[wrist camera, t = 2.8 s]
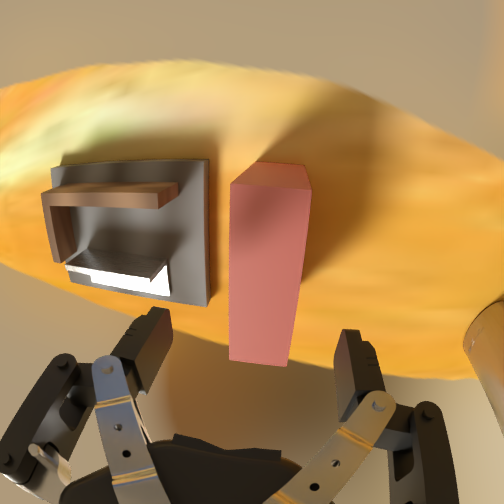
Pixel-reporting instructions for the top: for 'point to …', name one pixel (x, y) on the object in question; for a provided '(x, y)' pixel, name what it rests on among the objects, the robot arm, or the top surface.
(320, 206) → the top surface
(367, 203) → the top surface
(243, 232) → the book
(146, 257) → the bookend
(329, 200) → the top surface
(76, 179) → the book rack
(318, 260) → the top surface
